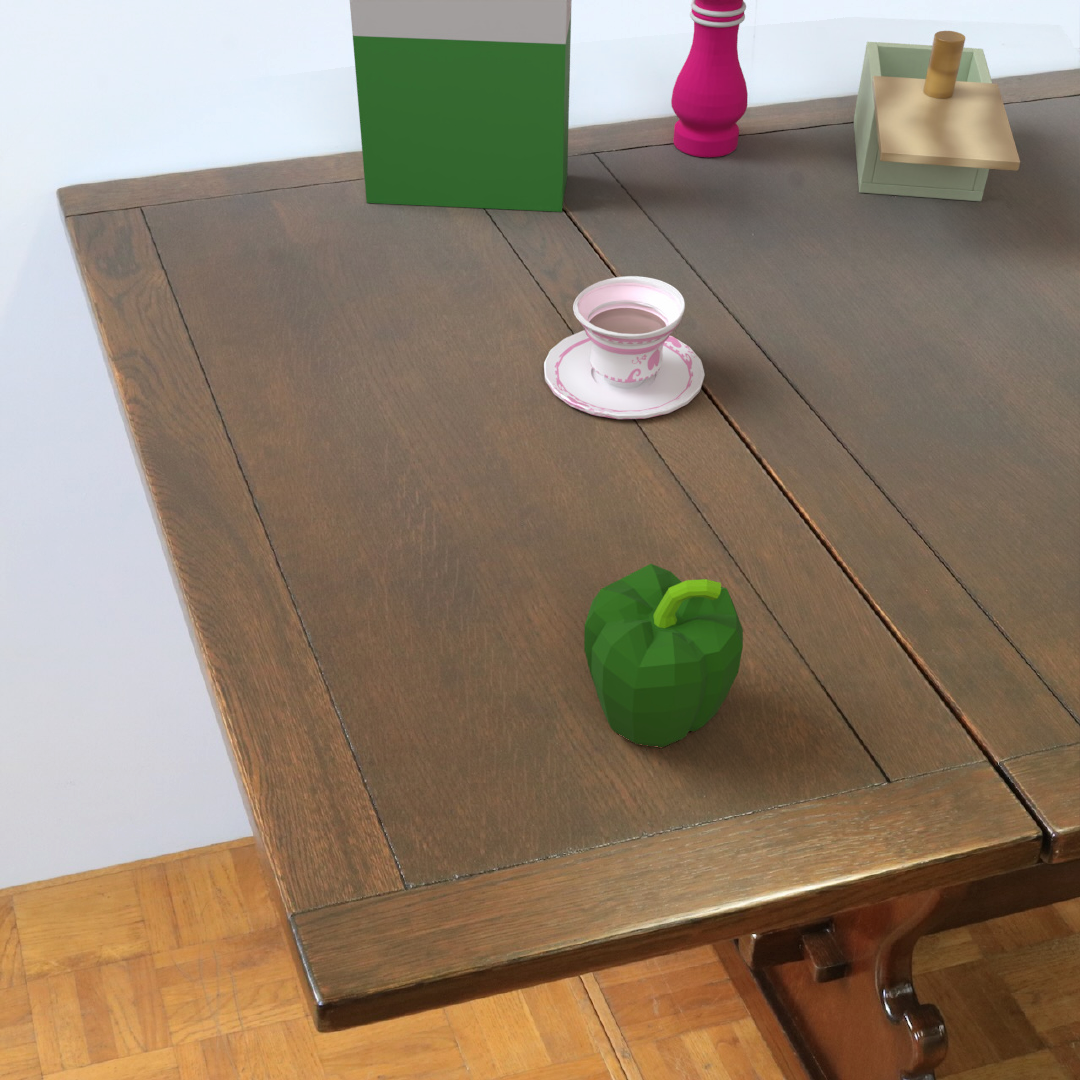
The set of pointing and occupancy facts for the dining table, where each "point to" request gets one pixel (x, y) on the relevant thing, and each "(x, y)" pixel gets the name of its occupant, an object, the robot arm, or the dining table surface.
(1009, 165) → the wooden box lid
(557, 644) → the dining table surface
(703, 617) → the bell pepper
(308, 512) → the dining table surface
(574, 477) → the dining table surface
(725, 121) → the pepper mill
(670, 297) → the teacup
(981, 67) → the box
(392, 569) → the dining table surface
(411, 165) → the hardback book
